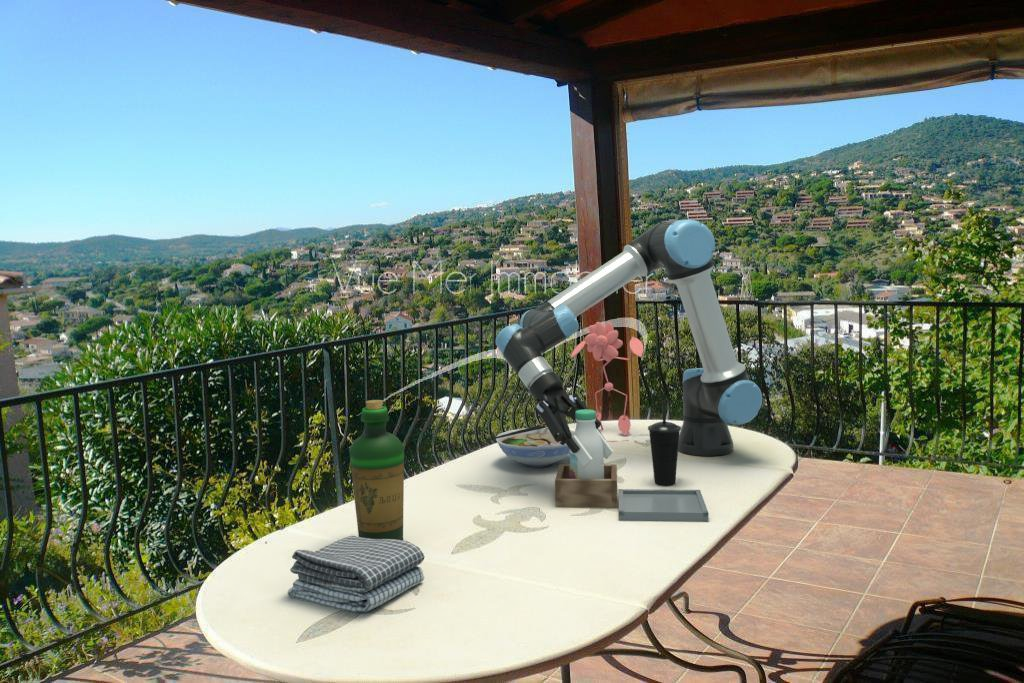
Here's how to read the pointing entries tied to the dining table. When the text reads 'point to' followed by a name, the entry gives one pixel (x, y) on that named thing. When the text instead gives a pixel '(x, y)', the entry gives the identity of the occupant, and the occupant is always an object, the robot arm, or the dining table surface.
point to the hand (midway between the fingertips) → (598, 458)
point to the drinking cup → (664, 450)
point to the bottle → (378, 476)
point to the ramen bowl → (532, 446)
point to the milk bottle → (587, 447)
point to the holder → (586, 489)
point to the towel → (356, 573)
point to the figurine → (608, 359)
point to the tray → (661, 505)
